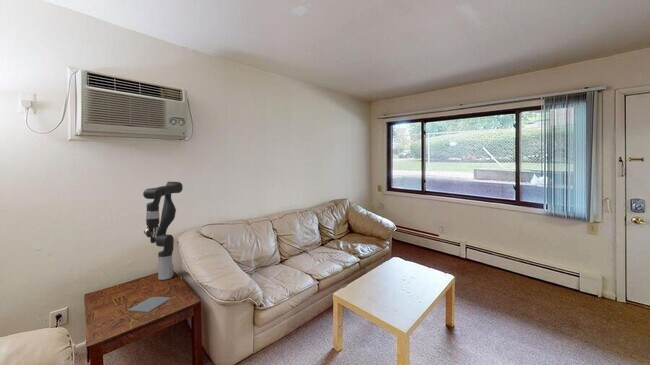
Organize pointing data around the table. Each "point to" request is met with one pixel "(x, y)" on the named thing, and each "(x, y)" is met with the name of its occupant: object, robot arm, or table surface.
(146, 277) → the table surface
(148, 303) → the mat
